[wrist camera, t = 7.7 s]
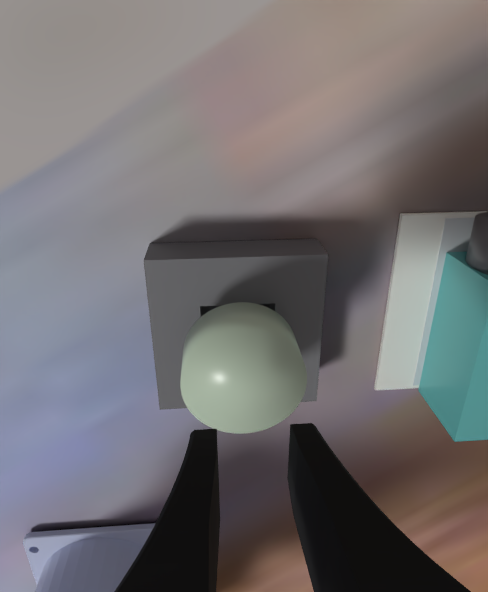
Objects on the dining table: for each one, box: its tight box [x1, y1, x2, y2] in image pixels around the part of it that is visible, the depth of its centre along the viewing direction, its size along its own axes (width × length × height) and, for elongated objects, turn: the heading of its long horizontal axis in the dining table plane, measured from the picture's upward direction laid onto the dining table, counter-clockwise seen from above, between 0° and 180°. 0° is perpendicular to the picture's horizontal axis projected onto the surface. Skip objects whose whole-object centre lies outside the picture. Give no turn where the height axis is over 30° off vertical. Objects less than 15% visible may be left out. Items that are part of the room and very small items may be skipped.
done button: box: [180, 302, 307, 434], centre depth 17 cm, size 4×4×3 cm
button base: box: [144, 239, 328, 409], centre depth 19 cm, size 7×7×2 cm
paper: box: [374, 211, 488, 390], centre depth 21 cm, size 9×8×1 cm
